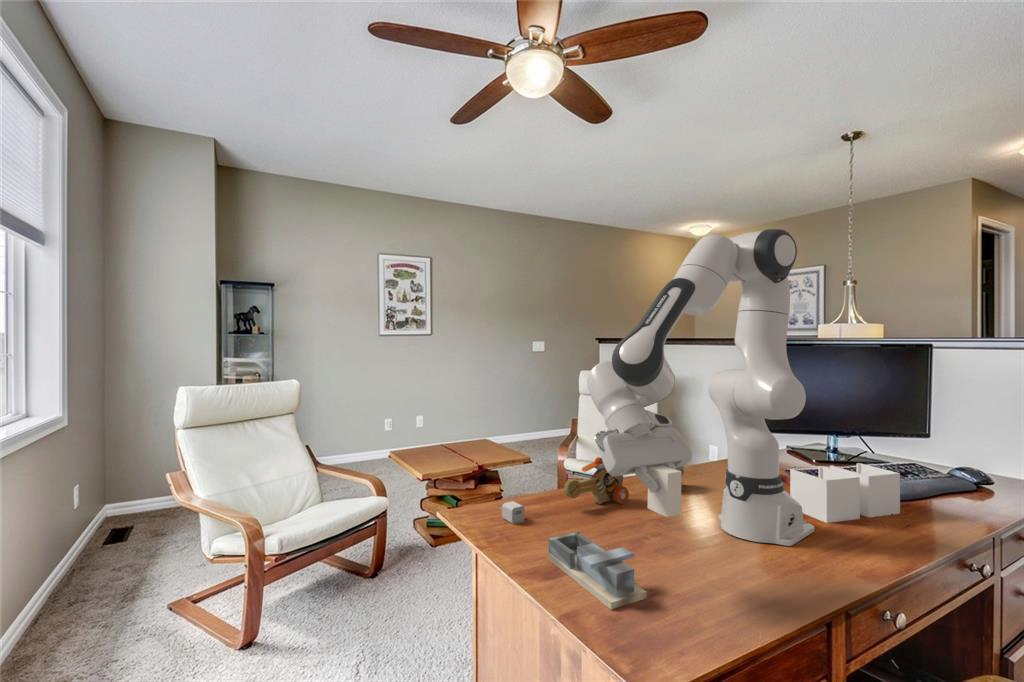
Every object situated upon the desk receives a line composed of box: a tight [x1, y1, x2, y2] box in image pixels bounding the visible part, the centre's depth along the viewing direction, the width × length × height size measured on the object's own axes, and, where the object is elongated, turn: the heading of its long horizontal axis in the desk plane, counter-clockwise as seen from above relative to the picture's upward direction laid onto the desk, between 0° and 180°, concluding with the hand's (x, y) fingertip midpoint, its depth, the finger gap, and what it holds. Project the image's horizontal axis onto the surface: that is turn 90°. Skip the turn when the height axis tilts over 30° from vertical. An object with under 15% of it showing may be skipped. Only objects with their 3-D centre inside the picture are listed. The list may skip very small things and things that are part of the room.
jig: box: [546, 531, 648, 611], centre depth 90 cm, size 10×21×6 cm, turn 27°
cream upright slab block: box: [647, 465, 682, 518], centre depth 88 cm, size 4×5×8 cm
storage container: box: [789, 462, 901, 524], centre depth 126 cm, size 25×11×11 cm, turn 105°
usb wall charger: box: [498, 500, 526, 525], centre depth 120 cm, size 4×7×4 cm, turn 37°
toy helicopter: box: [563, 456, 630, 505], centre depth 131 cm, size 8×21×14 cm, turn 122°
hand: (666, 489), depth 88 cm, fingers closed on cream upright slab block, 3 cm apart
